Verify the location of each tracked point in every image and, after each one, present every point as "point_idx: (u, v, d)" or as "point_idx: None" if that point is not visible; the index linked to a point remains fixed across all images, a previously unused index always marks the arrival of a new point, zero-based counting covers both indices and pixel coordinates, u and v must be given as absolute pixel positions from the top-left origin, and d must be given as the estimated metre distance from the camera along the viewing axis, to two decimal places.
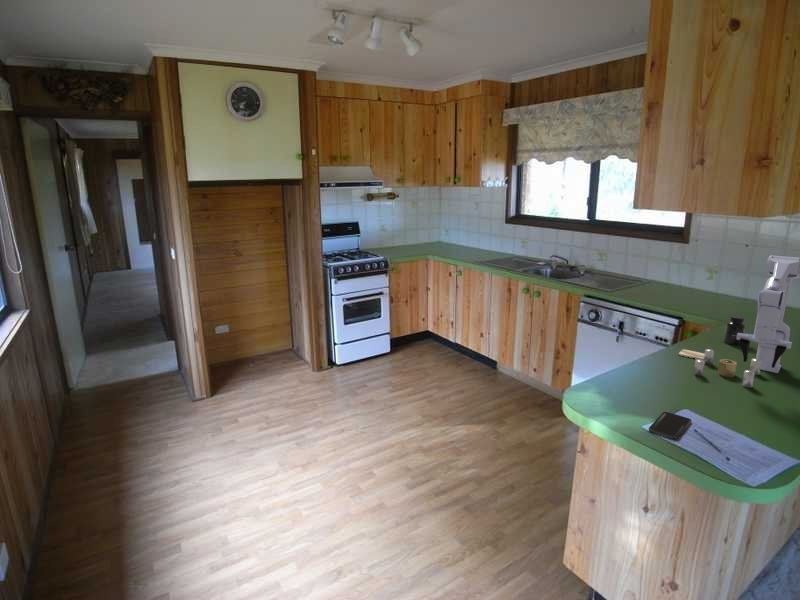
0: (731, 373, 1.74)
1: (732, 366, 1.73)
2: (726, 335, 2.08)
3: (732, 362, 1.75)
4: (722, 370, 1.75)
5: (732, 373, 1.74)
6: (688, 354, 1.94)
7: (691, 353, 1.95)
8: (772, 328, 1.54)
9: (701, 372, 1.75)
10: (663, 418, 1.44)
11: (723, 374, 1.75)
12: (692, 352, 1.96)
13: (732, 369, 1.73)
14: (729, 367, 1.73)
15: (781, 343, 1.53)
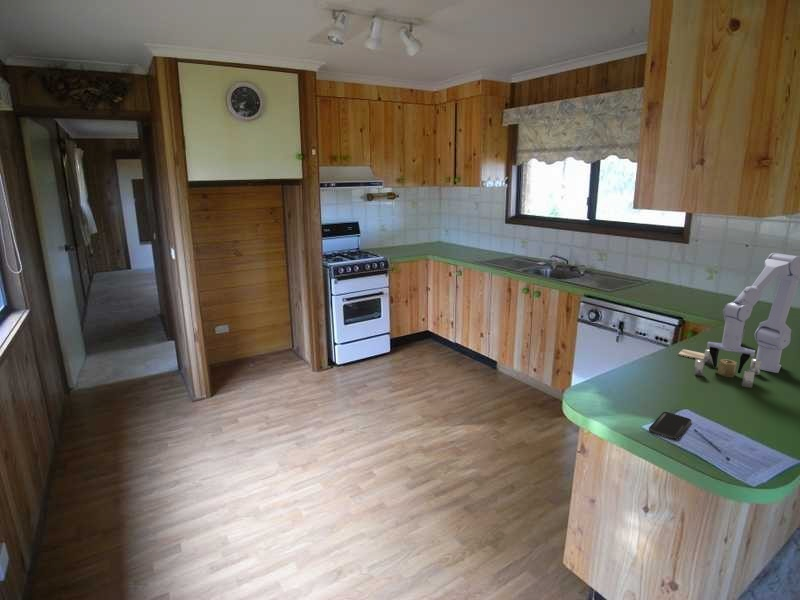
0: (731, 373, 1.74)
1: (732, 366, 1.73)
2: None
3: (732, 362, 1.75)
4: (722, 370, 1.75)
5: (732, 373, 1.74)
6: (688, 354, 1.94)
7: (691, 353, 1.95)
8: (737, 338, 1.70)
9: (701, 372, 1.75)
10: (663, 418, 1.44)
11: (723, 374, 1.75)
12: (692, 352, 1.96)
13: (732, 369, 1.73)
14: (729, 367, 1.73)
15: (745, 351, 1.70)
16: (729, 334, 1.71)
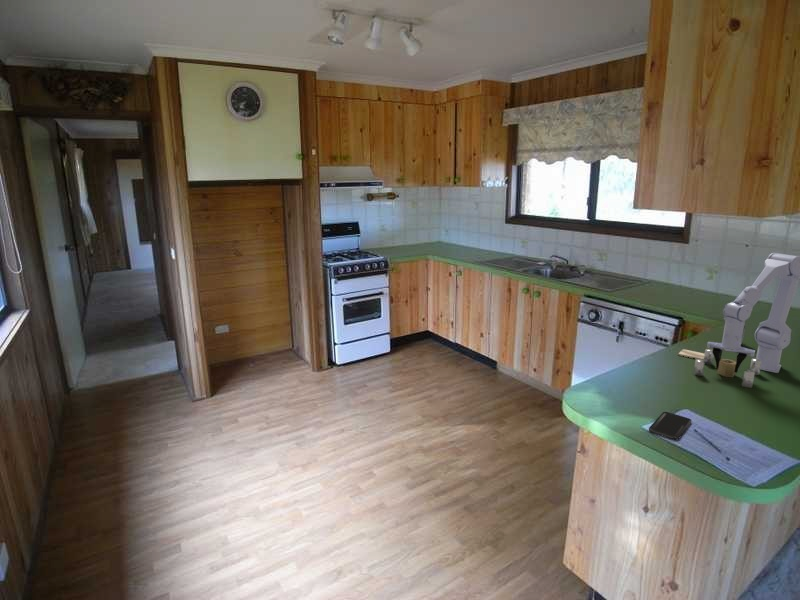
0: (731, 373, 1.74)
1: (732, 366, 1.73)
2: None
3: (732, 362, 1.75)
4: (722, 370, 1.75)
5: (732, 373, 1.74)
6: (688, 354, 1.94)
7: (691, 353, 1.95)
8: (737, 338, 1.70)
9: (701, 372, 1.75)
10: (663, 418, 1.44)
11: (723, 374, 1.75)
12: (692, 352, 1.96)
13: (732, 369, 1.73)
14: (729, 367, 1.73)
15: (745, 351, 1.70)
16: (729, 334, 1.71)
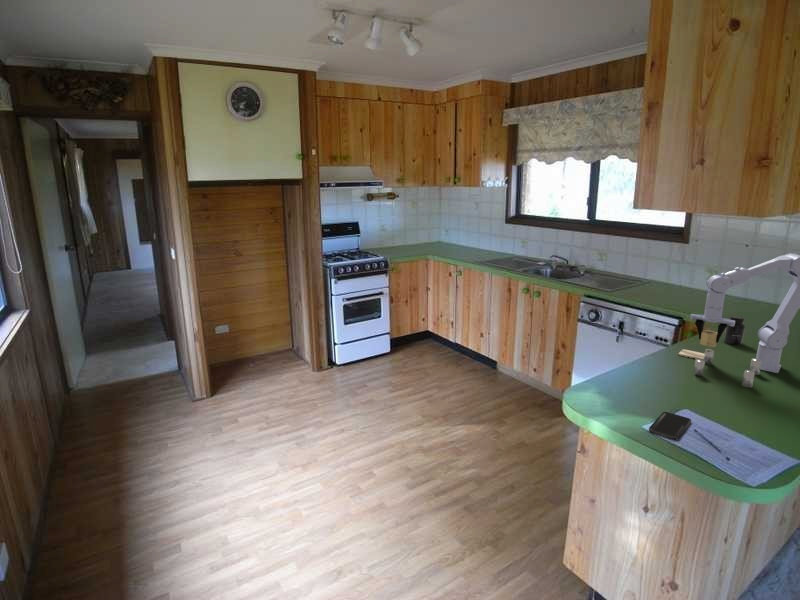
0: (713, 343, 1.83)
1: (714, 336, 1.82)
2: (726, 335, 2.08)
3: (714, 332, 1.84)
4: (704, 341, 1.84)
5: (714, 343, 1.83)
6: (688, 354, 1.94)
7: (691, 353, 1.95)
8: (718, 309, 1.79)
9: (701, 372, 1.75)
10: (663, 418, 1.44)
11: (705, 344, 1.84)
12: (692, 352, 1.96)
13: (714, 339, 1.82)
14: (711, 337, 1.82)
15: (726, 321, 1.79)
16: (707, 304, 1.82)
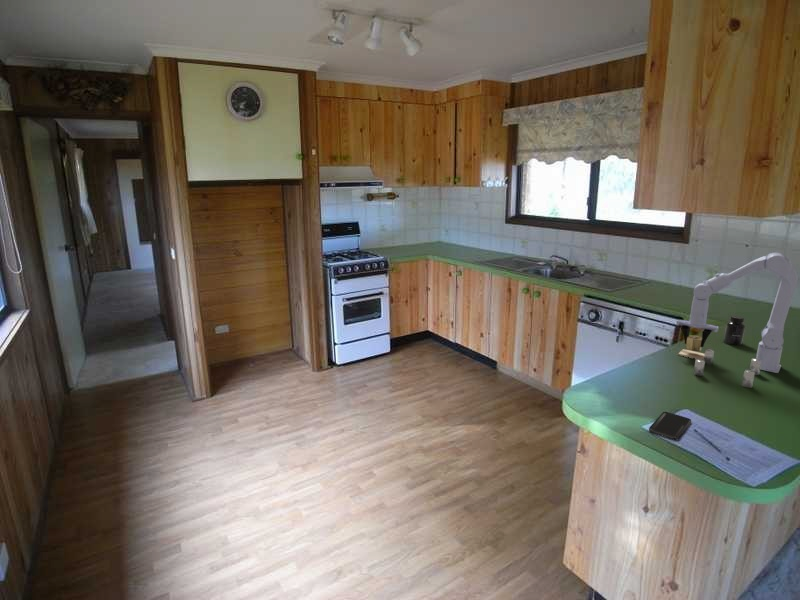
0: (697, 348, 1.91)
1: (698, 341, 1.91)
2: (726, 335, 2.08)
3: (698, 338, 1.92)
4: (690, 345, 1.93)
5: (698, 348, 1.91)
6: (688, 354, 1.94)
7: (691, 353, 1.95)
8: (703, 315, 1.88)
9: (701, 372, 1.75)
10: (663, 418, 1.44)
11: (690, 349, 1.93)
12: (692, 352, 1.96)
13: (698, 344, 1.91)
14: (696, 342, 1.91)
15: (710, 327, 1.87)
16: (691, 310, 1.91)
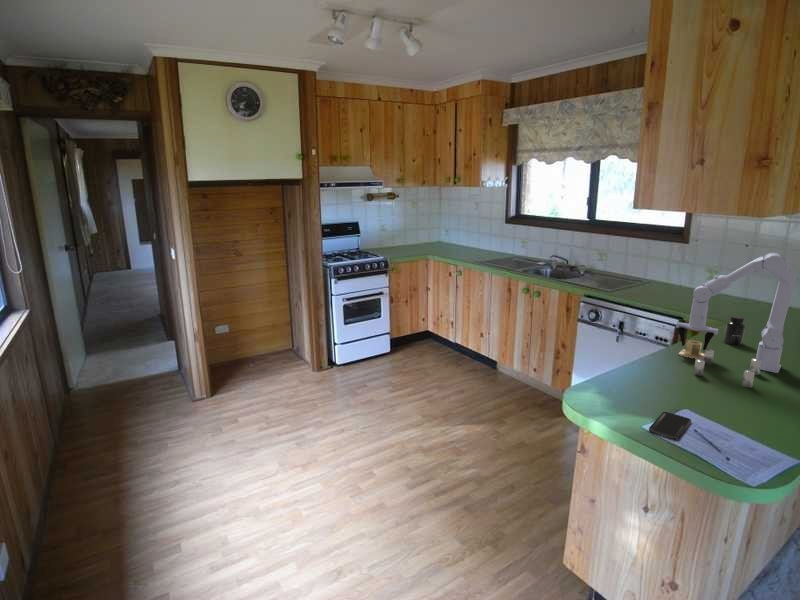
0: (697, 352, 1.92)
1: (698, 346, 1.91)
2: (726, 335, 2.08)
3: (698, 343, 1.93)
4: (689, 350, 1.93)
5: (697, 352, 1.92)
6: None
7: None
8: (702, 318, 1.88)
9: (701, 372, 1.75)
10: (663, 418, 1.44)
11: (689, 353, 1.93)
12: None
13: (697, 349, 1.92)
14: (695, 347, 1.92)
15: (709, 330, 1.88)
16: None
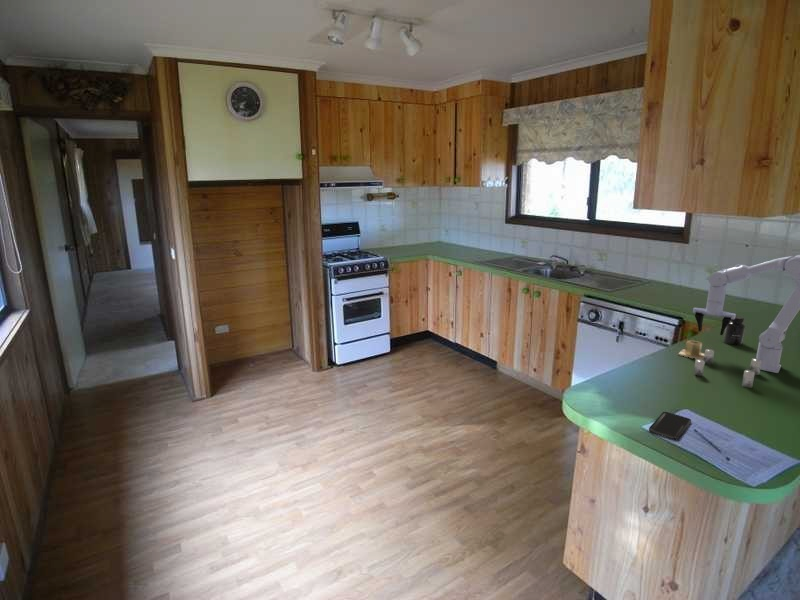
0: (697, 352, 1.92)
1: (698, 346, 1.91)
2: (726, 335, 2.08)
3: (698, 343, 1.93)
4: (689, 350, 1.93)
5: (697, 352, 1.92)
6: None
7: None
8: (720, 302, 1.88)
9: (701, 372, 1.75)
10: (663, 418, 1.44)
11: (689, 353, 1.93)
12: None
13: (697, 349, 1.92)
14: (695, 347, 1.92)
15: (727, 314, 1.88)
16: None
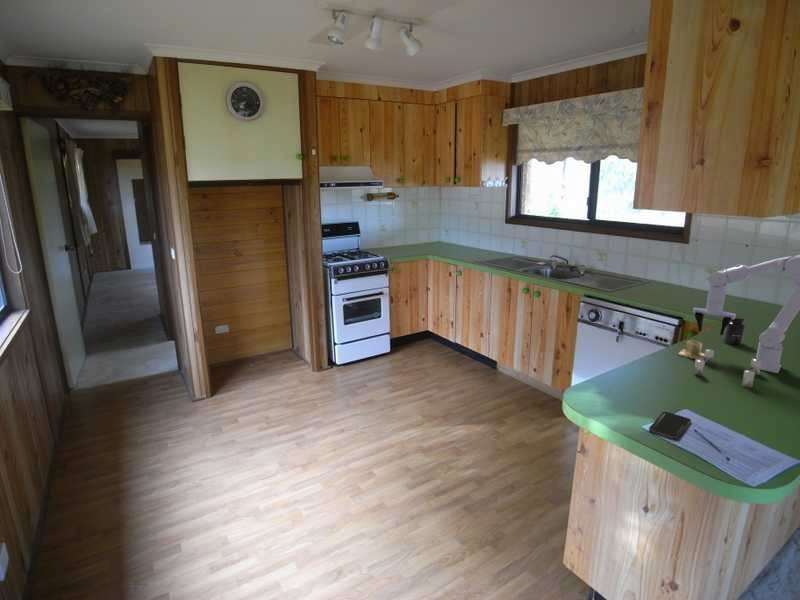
0: (697, 352, 1.92)
1: (698, 346, 1.91)
2: (726, 335, 2.08)
3: (698, 343, 1.93)
4: (689, 350, 1.93)
5: (697, 352, 1.92)
6: None
7: None
8: (720, 302, 1.88)
9: (701, 372, 1.75)
10: (663, 418, 1.44)
11: (689, 353, 1.93)
12: None
13: (697, 349, 1.92)
14: (695, 347, 1.92)
15: (727, 314, 1.88)
16: None
